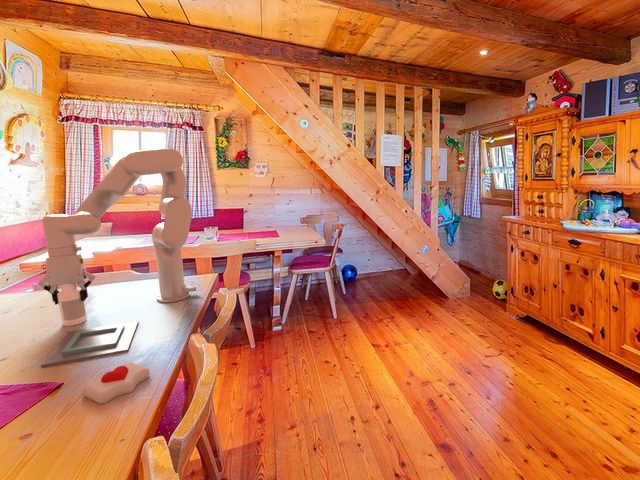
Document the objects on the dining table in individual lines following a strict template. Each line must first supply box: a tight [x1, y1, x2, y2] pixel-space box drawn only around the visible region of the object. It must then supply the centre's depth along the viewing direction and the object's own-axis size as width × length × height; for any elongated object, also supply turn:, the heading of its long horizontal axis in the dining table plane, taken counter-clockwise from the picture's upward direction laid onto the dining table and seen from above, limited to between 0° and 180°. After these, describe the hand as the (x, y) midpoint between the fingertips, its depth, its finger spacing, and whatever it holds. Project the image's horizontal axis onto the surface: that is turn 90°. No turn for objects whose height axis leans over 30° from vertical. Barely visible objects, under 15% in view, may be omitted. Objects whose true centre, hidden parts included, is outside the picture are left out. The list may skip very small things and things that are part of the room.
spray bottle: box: [57, 284, 87, 327], centre depth 110 cm, size 7×7×18 cm
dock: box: [40, 320, 139, 368], centre depth 97 cm, size 20×20×2 cm
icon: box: [81, 361, 151, 405], centre depth 76 cm, size 12×4×10 cm
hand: (71, 301), depth 110 cm, fingers closed on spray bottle, 6 cm apart
